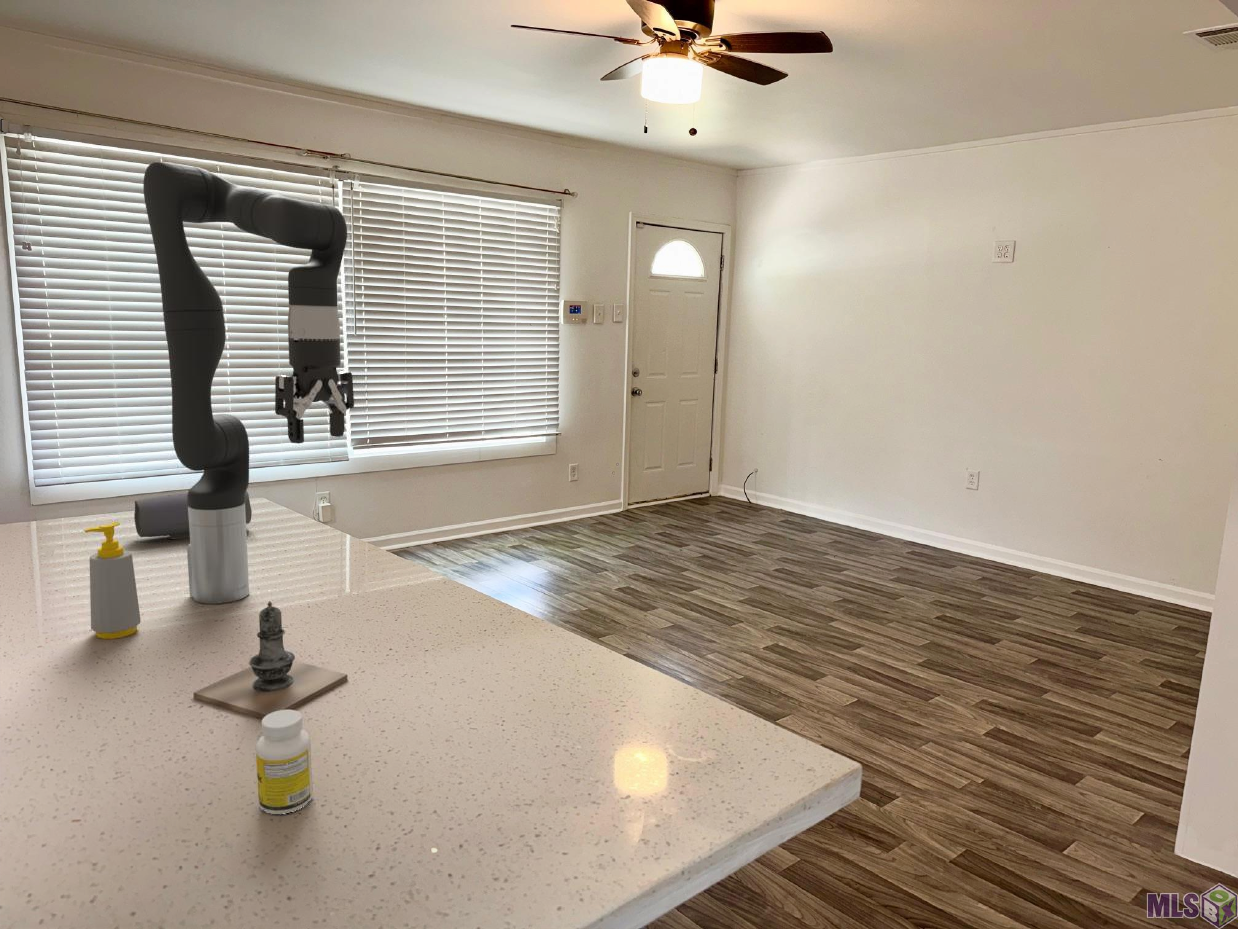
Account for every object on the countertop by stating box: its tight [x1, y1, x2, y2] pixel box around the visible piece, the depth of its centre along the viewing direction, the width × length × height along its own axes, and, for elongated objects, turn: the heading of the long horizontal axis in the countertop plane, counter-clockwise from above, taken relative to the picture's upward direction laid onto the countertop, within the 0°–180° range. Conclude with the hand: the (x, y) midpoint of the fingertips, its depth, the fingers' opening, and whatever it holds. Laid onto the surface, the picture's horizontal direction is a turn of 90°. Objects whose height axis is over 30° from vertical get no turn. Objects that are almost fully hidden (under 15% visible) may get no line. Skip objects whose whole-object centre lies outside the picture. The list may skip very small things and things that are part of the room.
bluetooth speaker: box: [133, 490, 253, 540], centre depth 187 cm, size 23×9×10 cm, turn 130°
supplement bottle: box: [255, 709, 314, 815], centre depth 87 cm, size 5×5×10 cm
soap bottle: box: [84, 521, 142, 640], centre depth 129 cm, size 7×7×18 cm
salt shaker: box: [248, 600, 296, 692], centre depth 113 cm, size 6×6×12 cm
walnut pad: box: [193, 659, 349, 720], centre depth 114 cm, size 14×14×1 cm
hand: (317, 439), depth 129 cm, fingers open, 8 cm apart
